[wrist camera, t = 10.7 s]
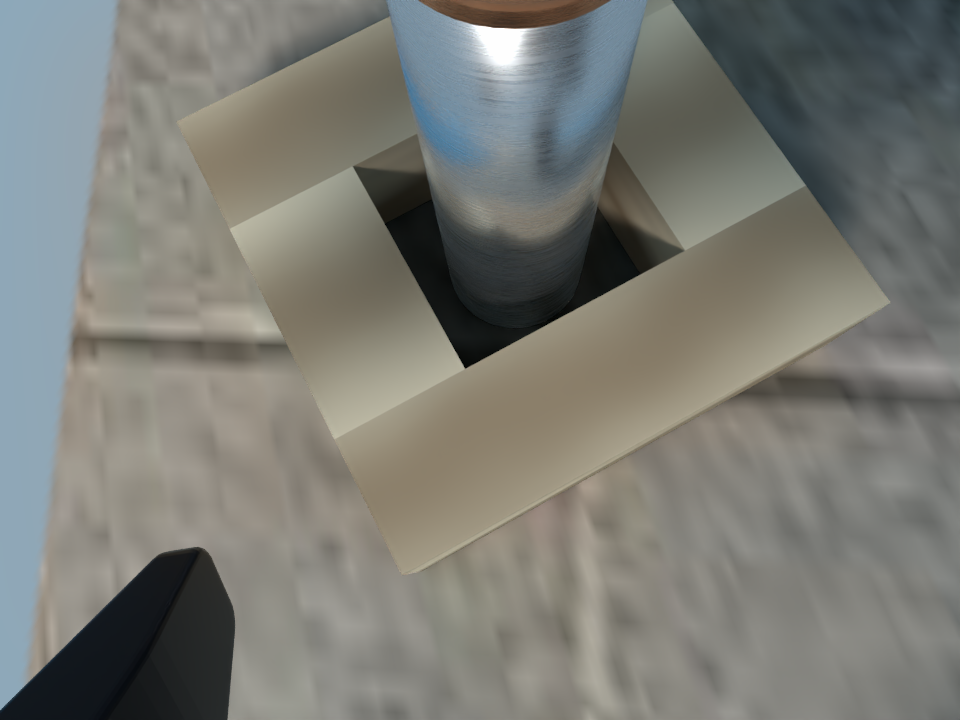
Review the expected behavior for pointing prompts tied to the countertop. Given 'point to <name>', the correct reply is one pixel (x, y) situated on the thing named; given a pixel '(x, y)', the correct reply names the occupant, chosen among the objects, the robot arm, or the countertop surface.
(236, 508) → the countertop surface
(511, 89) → the copper capped silver cylinder
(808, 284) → the socket block
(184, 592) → the robot arm
